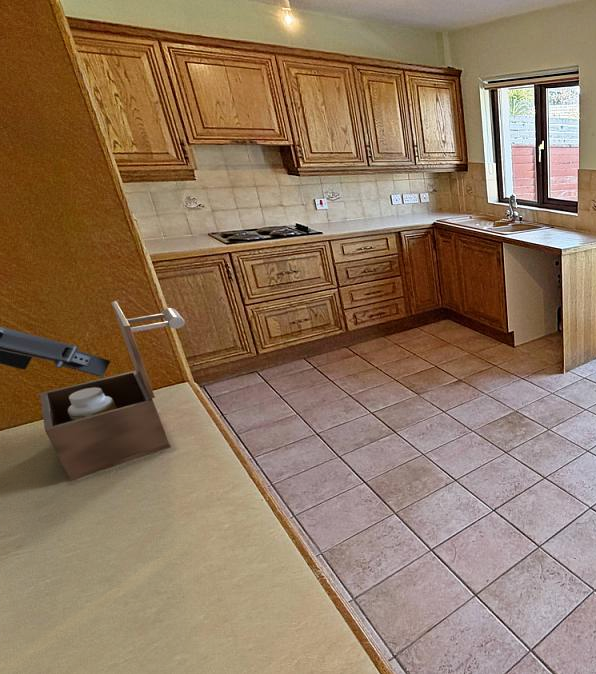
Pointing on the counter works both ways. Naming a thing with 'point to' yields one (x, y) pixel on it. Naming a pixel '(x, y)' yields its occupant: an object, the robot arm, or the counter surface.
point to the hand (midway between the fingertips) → (66, 365)
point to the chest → (103, 426)
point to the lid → (168, 314)
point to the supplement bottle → (89, 403)
